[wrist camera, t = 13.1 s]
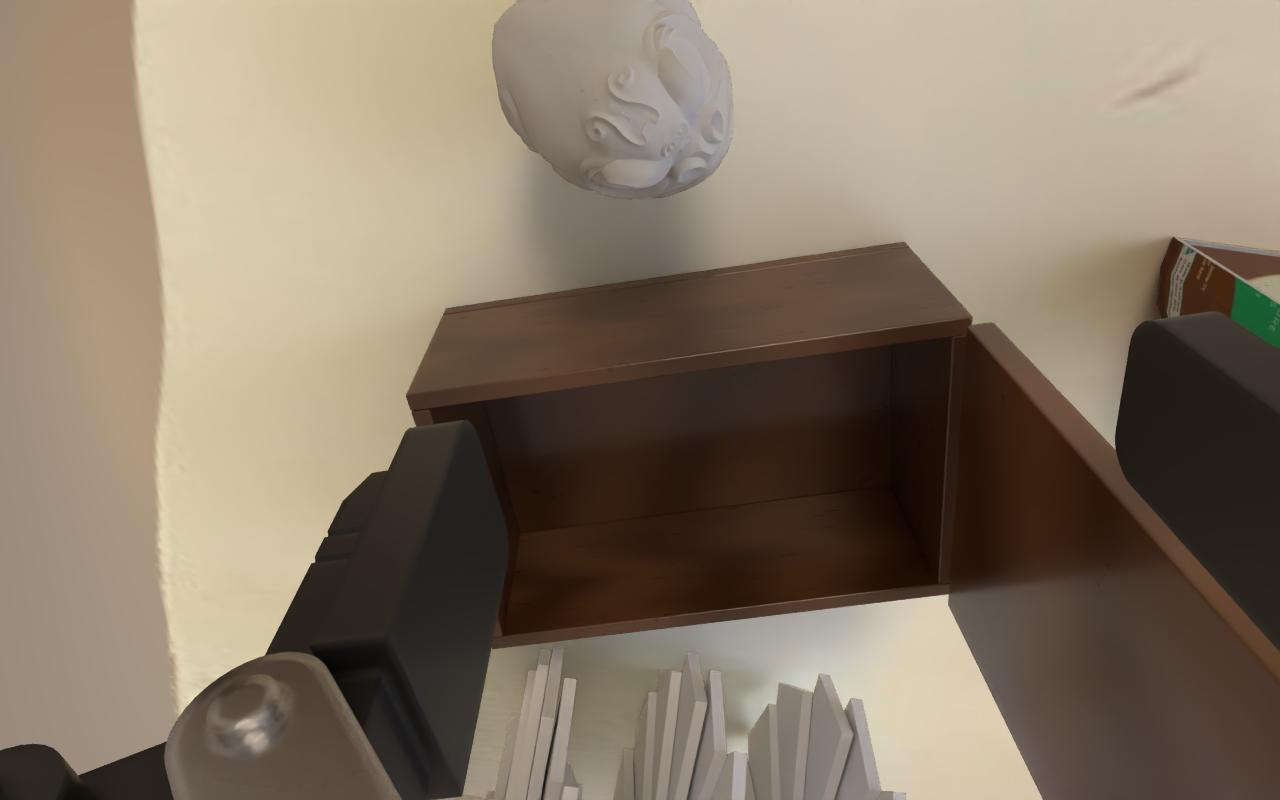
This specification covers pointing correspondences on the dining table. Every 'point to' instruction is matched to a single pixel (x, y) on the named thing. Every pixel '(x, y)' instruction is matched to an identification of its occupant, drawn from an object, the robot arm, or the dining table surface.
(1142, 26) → the dining table surface
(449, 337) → the chest
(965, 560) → the chest lid
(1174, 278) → the food container
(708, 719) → the spiral staircase
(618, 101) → the grey rounded lumpy piece
